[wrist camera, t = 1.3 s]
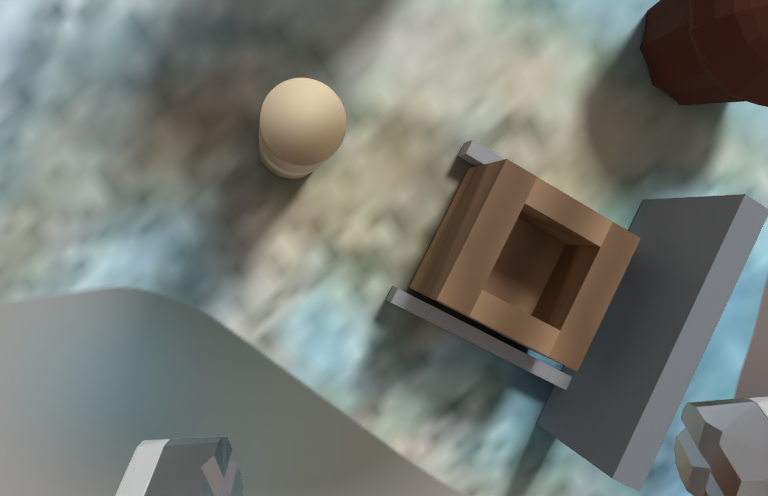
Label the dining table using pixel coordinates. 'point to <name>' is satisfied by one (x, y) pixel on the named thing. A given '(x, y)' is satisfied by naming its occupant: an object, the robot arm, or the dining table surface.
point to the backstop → (636, 329)
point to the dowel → (300, 127)
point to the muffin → (708, 50)
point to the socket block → (526, 261)
